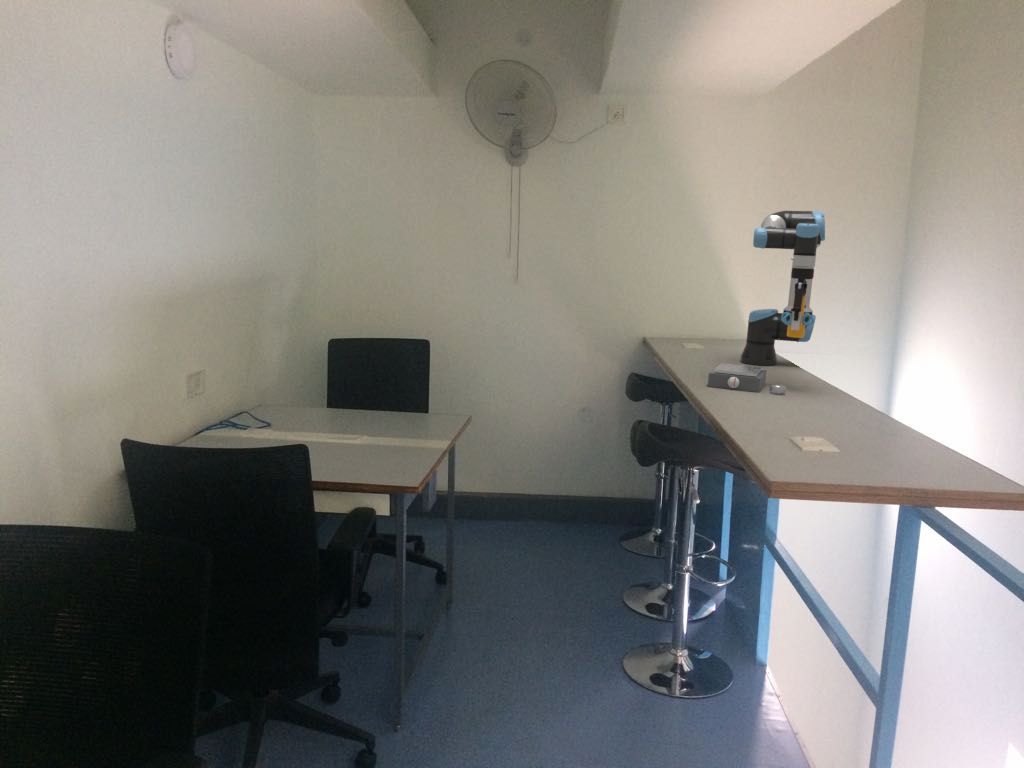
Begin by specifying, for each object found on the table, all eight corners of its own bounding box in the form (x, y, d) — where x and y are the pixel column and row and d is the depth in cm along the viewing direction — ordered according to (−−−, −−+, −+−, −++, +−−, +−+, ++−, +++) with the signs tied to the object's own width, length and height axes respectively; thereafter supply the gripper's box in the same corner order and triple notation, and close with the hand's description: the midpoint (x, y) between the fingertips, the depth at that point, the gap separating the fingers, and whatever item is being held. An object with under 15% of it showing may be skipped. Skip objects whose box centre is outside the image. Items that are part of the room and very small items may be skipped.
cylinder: (813, 340, 266) (818, 298, 263) (782, 338, 268) (787, 296, 265) (807, 335, 278) (812, 294, 274) (778, 333, 280) (782, 293, 276)
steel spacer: (770, 391, 268) (771, 383, 268) (785, 393, 266) (786, 385, 266) (769, 394, 264) (769, 385, 263) (784, 395, 262) (784, 387, 261)
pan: (719, 375, 287) (721, 363, 286) (760, 380, 281) (762, 367, 280) (712, 382, 274) (714, 369, 272) (755, 387, 267) (756, 373, 266)
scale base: (716, 378, 289) (717, 365, 288) (764, 383, 282) (766, 370, 281) (707, 386, 272) (708, 373, 271) (758, 392, 265) (760, 379, 264)
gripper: (794, 265, 279) (788, 322, 284) (789, 268, 258) (782, 330, 263) (816, 266, 276) (809, 324, 281) (812, 269, 255) (805, 332, 260)
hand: (796, 327), depth 272 cm, fingers closed on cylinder, 12 cm apart
